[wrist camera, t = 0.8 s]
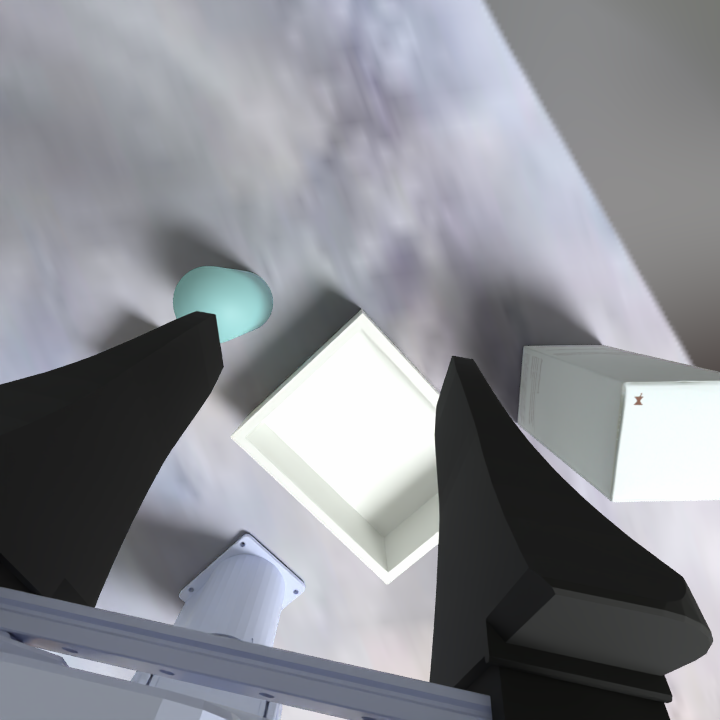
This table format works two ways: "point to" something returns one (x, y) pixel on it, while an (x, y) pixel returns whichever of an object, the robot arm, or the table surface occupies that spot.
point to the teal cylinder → (225, 299)
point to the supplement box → (625, 420)
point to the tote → (356, 446)
